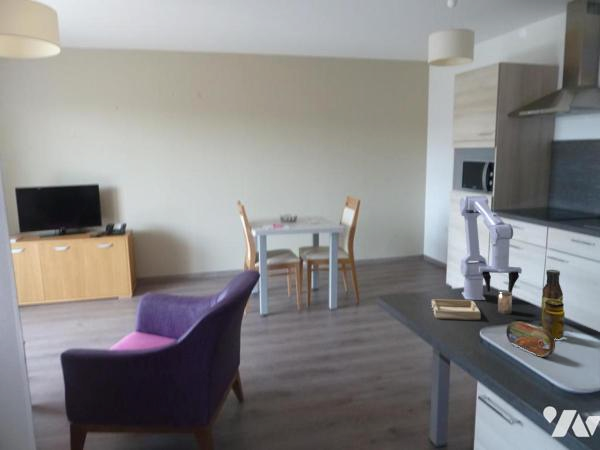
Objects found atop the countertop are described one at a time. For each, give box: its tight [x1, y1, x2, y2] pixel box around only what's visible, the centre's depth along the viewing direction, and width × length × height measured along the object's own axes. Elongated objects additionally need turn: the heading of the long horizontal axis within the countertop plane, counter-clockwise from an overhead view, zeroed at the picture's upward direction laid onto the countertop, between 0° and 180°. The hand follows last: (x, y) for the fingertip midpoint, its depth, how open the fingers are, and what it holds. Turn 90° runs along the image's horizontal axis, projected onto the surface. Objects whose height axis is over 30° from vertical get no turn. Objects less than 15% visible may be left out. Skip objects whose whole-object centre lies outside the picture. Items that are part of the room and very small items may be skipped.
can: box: [497, 289, 513, 315], centre depth 164 cm, size 5×5×8 cm
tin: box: [506, 320, 556, 358], centre depth 131 cm, size 15×3×8 cm, turn 25°
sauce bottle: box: [541, 269, 564, 325], centre depth 149 cm, size 6×6×20 cm
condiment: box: [541, 300, 565, 339], centre depth 140 cm, size 7×8×12 cm
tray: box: [430, 298, 482, 321], centre depth 165 cm, size 14×16×3 cm
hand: (499, 291), depth 160 cm, fingers open, 7 cm apart
